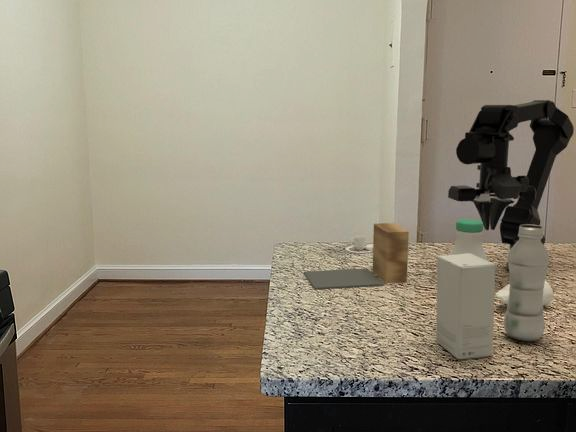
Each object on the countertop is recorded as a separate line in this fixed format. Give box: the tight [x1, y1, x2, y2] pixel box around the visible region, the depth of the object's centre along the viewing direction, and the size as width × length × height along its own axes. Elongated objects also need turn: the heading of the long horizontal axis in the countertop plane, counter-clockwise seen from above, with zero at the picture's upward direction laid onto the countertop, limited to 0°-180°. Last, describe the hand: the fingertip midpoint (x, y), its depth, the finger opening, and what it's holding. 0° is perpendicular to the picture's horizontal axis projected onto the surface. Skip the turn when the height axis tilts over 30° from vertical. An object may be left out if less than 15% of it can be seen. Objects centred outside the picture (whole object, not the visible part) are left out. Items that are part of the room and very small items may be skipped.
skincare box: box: [435, 253, 497, 360], centre depth 97 cm, size 8×7×16 cm
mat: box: [303, 267, 385, 290], centre depth 137 cm, size 16×13×1 cm
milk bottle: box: [448, 218, 489, 261], centre depth 106 cm, size 8×8×20 cm
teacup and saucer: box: [345, 235, 373, 254], centre depth 165 cm, size 9×8×4 cm
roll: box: [494, 280, 554, 307], centre depth 117 cm, size 6×12×6 cm, turn 112°
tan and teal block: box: [372, 222, 410, 284], centre depth 138 cm, size 5×10×12 cm, turn 10°
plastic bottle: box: [503, 224, 550, 342], centre depth 101 cm, size 6×7×20 cm
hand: (489, 229), depth 134 cm, fingers closed
